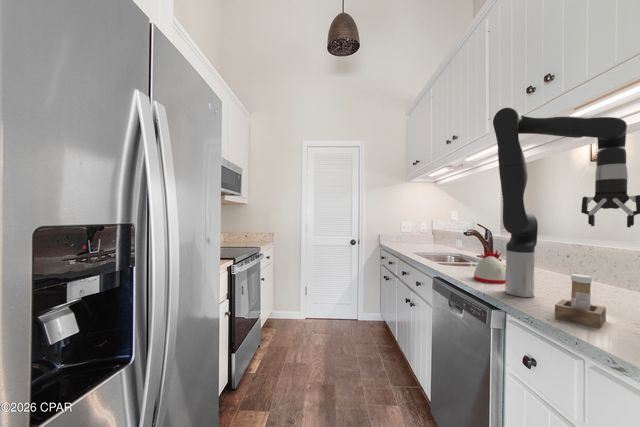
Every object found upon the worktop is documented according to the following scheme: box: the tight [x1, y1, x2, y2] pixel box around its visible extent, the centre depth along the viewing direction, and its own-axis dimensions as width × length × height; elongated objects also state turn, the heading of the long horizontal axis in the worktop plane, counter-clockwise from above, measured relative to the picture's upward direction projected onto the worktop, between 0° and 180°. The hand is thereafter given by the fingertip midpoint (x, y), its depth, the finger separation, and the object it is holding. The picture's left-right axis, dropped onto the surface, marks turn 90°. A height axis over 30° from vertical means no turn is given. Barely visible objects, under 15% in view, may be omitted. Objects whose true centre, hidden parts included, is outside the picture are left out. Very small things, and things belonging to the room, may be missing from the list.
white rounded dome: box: [473, 249, 506, 285], centre depth 136 cm, size 14×14×15 cm
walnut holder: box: [554, 298, 607, 329], centre depth 86 cm, size 10×10×4 cm
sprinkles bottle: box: [570, 273, 593, 311], centre depth 86 cm, size 5×5×14 cm
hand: (610, 226), depth 94 cm, fingers open, 8 cm apart
